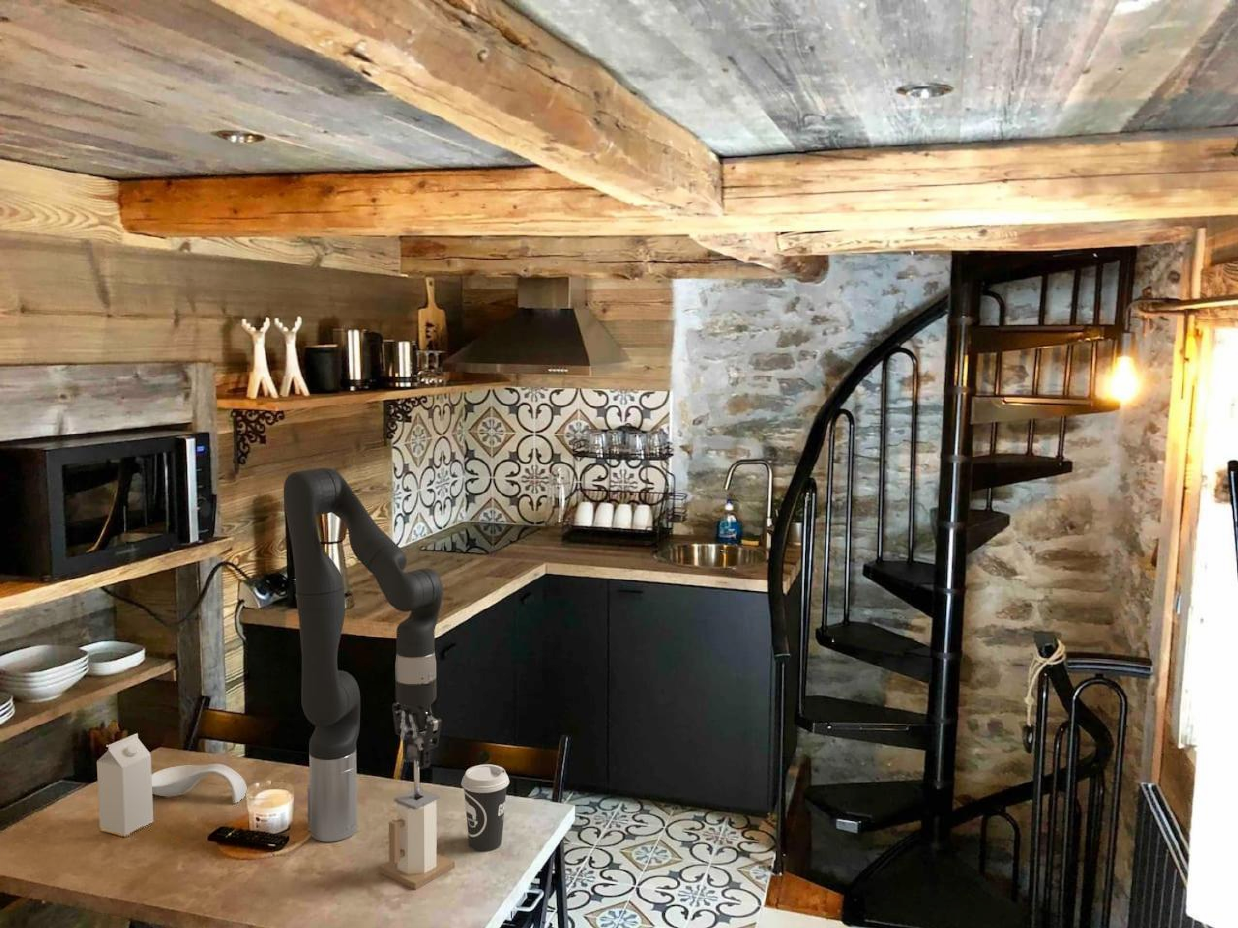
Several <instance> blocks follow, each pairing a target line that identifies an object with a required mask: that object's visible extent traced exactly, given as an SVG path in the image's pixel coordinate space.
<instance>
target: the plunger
mask: <svg viewBox="0 0 1238 928" xmlns="http://www.w3.org/2000/svg"><path fill="white" fill-rule="evenodd" d="M423 743H424V740H423ZM418 749H419V748H418V743H417V739H415V741H411V742H409V743H408V744H407V756H408V757H409V758H413V759H412V760H413V790H414V799H415V800H418V799H420V793H419V788H420V768H419V767H418Z"/></svg>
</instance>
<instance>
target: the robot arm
mask: <svg viewBox="0 0 1238 928" xmlns="http://www.w3.org/2000/svg"><path fill="white" fill-rule="evenodd" d="M285 478H286V479H285V480H284V485H283V502H284V504H283V505H284V510H285V515H286V521H287V525H288V531H289V536H290V541H291V542H290V543H291V548H292V549H291V550H292V556H293V557H292V558H293V567H294V577H295V578H294V579H295V581H294V582H295V593H296V594H295V596H296V608H297V615H298V622H299V623H298V624H299V638H300V650H301V689H300V692H301V693H300V695H301V700H300V701H301V702H300V703H301V707H302V711H303V714H304V716H305V717H306V719H307V720H308V721H309V722H310V723H311V724H313V726H315V729H314V731H313V733H312V735H311V737H310V738H309V742H308V751H309V752H308V753H309V754H308V756H309V758H308V759H309V761H308V762H309V785H308V786H307V788H306V789H307V790H306V791H307V827H308V828H307V830H308V829H310V830H311V831H310V835H311V837H312V838H313V839H314V840H317V841H319V842H337V841H338V842H339V841H342V840H345V839H348V838H350V837H352V836H353V835H354V834H355V833H356V832H357V831H358V795H357V794H358V792H357V791H358V787H357V784H358V783H357V782H358V781H357V780H358V779H357V777H358V776H357V740H358V738H359V734H360V726H361V723H360V722H361V694H360V688H359V685H358V682H357V680H356V679H355V677H354V676H353V675H352V674H351V673H349V672H348V671H344V670H339V669H338V653H339V652H338V651H339V645H340V640H341V636H342V631H343V626H344V623H345V617H346V597H345V585H344V578H343V575H342V573H341V572H340V569H339V568H338V566H337V565H336V564H335V562H334V561H333V560H332V558H331V557H330V556H329V555H328V553H327V552H326V550H325V549H324V547H323V545H322V542H321V540H320V537H319V533H318V526H317V516H321V515H326V514H330V513H331V514H333V515H335V516H336V517H337V518H339V519H340V520H341V521H342V522H343V523H344V525H345V526H346V528H347V531H348V540H349V546H350V548H351V551H352V552H353V554H354V556H355V557H356V558H357V561H359V562H360V563H361V564H362V565H363V566H364V567H365V568H366V569H367V570H368V571H369V572H370V574H372V575H373V576H374V578H375V579H376V581H377V584H378V586H379V588H380V590H381V592H382V593H383V596H384V598H385V600H386V601H387V603H388V605H390V606H391V607H392V608H394V609H395V610H398V611H400V612H404V613H407V612H410V614H409V616H408V617H407V618H406V619H404V620H402V621H401V622H400V623H399V624H398V625H397V627H396V638H395V639H396V640H395V641H396V656H395V666H394V667H395V669H394V670H395V671H394V673H395V676H394V677H395V679H394V680H395V681H394V682H395V701H396V702H395V703H392V704H391V711H392V716H393V717H392V718H393V725H394V731H395V734H396V735H397V736H400V740H401V741H402V758H403V760H404V761H411V760H414V759H413V758H409V757H408V756H407V744H408V743H409V742H411V741H415V740H417V743H418V748H419V749H418V767H419V770H420V769H421V770H423V769H427V768H429V767H430V766H431V750H432V749H434V748H438V746H439V742H440V735H441V728H442V722H443V721H442V719H441V718H435V717H434V716H433V711H432V704H433V702H435V700H436V699H437V659H436V650H435V648H436V647H435V640H436V639H435V637H436V636H435V630H436V627H437V625H438V624H437V623H438V620H439V616H440V612H441V607H442V604H443V603H442V602H443V597H444V586H443V582H442V579H441V577H440V575H439V574H438V573H437V572H436V571H435V570H434V569H433V568H421V569H416V570H412V571H408V572H405V571H404V570H405V568H406V566H407V563H408V557H407V555H406V553H405V552H404V550H402V548H401V547H400V546H398V544H397V543H396V542H395V541H394V540H393V539H392V538H390V536H388V535H387V534H386V533H385V532H384V531H383V530H382V528H380V526H379V525H378V524H377V523H376V522H375V521H374V519H373V518H372V516H371V515H370V514H369V512H368V511H367V509H366V508H365V505H364V504H363V503H362V502H361V500H360V499H359V498H358V496H357V494H355V492H354V491H353V489H352V487H350V484H349V483H348V482H347V481H346V480H345V478H344V477H343V476H342V475H341V474H340V472H338V471H337V470H336V469H334V468H331V467H318V468H311V469H305V470H299V471H297V470H296V471H294V472H291V473H290V474H288V476H286V477H285ZM424 730H425V731H424ZM420 731H421V732H420ZM423 737H424V739H423ZM423 741H424V743H423Z"/></svg>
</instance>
